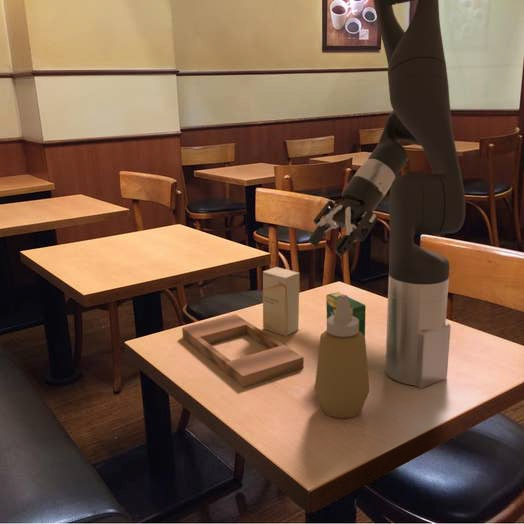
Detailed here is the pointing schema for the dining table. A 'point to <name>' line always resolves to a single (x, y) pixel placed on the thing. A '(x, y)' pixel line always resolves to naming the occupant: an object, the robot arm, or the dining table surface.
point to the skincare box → (280, 300)
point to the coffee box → (355, 308)
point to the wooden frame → (250, 366)
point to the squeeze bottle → (342, 364)
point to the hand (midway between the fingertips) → (324, 248)
